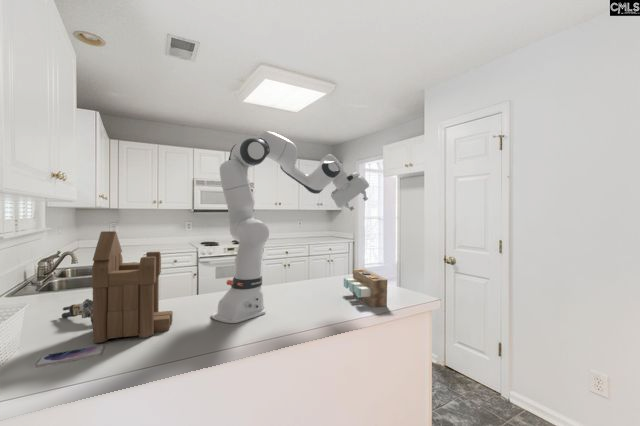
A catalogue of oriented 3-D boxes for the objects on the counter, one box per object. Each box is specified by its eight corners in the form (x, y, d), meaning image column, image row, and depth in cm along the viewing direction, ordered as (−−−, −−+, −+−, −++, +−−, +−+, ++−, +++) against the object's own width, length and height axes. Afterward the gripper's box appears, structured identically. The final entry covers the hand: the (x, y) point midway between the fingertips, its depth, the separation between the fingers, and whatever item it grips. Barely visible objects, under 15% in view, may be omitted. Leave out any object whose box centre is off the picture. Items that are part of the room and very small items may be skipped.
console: (372, 307, 136) (373, 279, 135) (352, 291, 159) (353, 268, 158) (386, 306, 138) (387, 278, 137) (364, 291, 161) (365, 267, 160)
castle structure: (168, 336, 102) (168, 233, 101) (90, 345, 95) (90, 234, 94) (176, 309, 128) (176, 226, 127) (115, 315, 120) (115, 227, 119)
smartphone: (42, 355, 88) (105, 344, 95) (42, 358, 88) (105, 347, 95) (33, 366, 81) (101, 354, 89) (33, 369, 81) (101, 356, 89)
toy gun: (98, 325, 108) (93, 298, 109) (61, 331, 115) (57, 305, 116) (107, 322, 111) (102, 295, 112) (71, 328, 118) (67, 303, 119)
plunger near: (359, 298, 136) (359, 288, 136) (355, 295, 140) (355, 286, 140) (377, 296, 138) (377, 287, 138) (373, 294, 142) (373, 285, 142)
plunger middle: (352, 292, 144) (352, 284, 143) (349, 290, 148) (349, 281, 147) (369, 291, 146) (369, 283, 146) (365, 289, 150) (366, 281, 150)
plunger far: (346, 288, 151) (346, 280, 151) (343, 286, 155) (343, 278, 155) (362, 287, 154) (362, 279, 154) (359, 285, 158) (359, 277, 158)
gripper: (326, 195, 156) (342, 217, 155) (355, 172, 146) (372, 195, 145) (332, 193, 162) (347, 214, 161) (360, 170, 151) (376, 192, 150)
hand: (359, 205), depth 153 cm, fingers open, 8 cm apart
